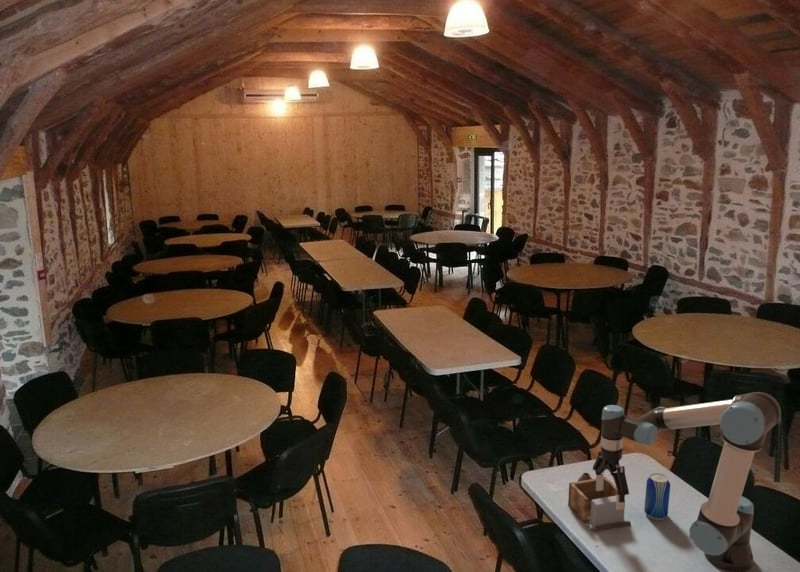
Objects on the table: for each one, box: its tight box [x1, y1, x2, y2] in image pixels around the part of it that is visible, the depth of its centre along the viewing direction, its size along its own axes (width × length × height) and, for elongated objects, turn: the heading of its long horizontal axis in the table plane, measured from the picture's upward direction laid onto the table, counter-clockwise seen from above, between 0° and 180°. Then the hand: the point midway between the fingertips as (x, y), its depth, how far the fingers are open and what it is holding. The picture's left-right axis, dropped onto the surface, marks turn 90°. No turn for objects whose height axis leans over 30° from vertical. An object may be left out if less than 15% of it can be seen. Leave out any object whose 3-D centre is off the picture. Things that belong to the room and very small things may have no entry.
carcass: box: [567, 476, 632, 533], centre depth 251 cm, size 18×16×10 cm
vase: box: [576, 472, 593, 482], centre depth 266 cm, size 7×7×9 cm
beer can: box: [643, 472, 671, 521], centre depth 250 cm, size 8×8×16 cm
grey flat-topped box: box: [589, 495, 626, 527], centre depth 245 cm, size 5×12×10 cm, turn 105°
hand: (609, 499), depth 244 cm, fingers open, 13 cm apart
